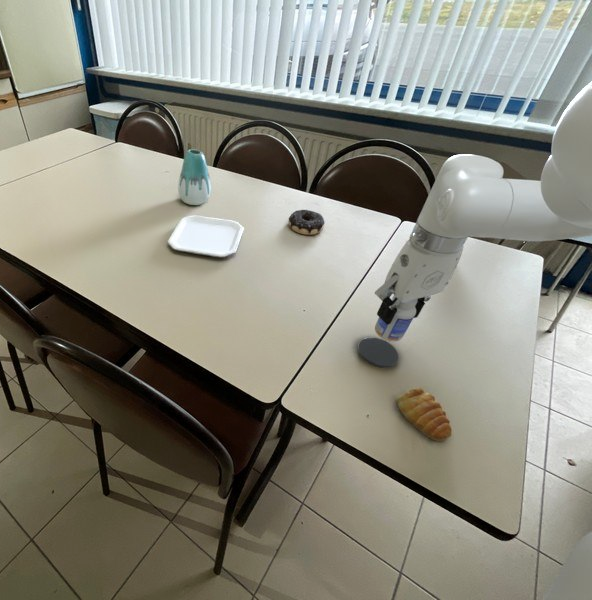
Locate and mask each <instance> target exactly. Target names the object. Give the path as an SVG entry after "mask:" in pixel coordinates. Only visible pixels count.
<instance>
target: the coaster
mask: <svg viewBox="0 0 592 600" xmlns="http://www.w3.org/2000/svg"><path fill="white" fill-rule="evenodd" d="M357 352H358V355H359V356H360V357H361V359H363V360H364V361H365V362H366V363H368V364H369V365H372V366H373V367H377V368H381V369H382V368H383V369H386V368H391V367H394V366H395V365H397V363H398V360H399V353H398V351H397V349H396V348H395V347H394V345H392V344H391V343H390V342H389V341H387V340H385V339H383V338H380V337H379V338H378V337H365V338H363V339H362V340H360V341H359V343H358V346H357Z"/></svg>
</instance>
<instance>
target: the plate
mask: <svg viewBox="0 0 592 600" xmlns="http://www.w3.org/2000/svg"><path fill="white" fill-rule="evenodd" d="M244 230H245V227H244V226H243V225H242V224H240V223H239V222H238V221H237V220H232V219H225V218H217V217H211V216H203V215H197V214H192V215H188V216H184V217H182V218H181V219H180V220H179V222H178V223H177V226H176V227H175V228H174V230H173V231H172V233H171V235H170V237H169V238H168V239H167V244H168V245H169V246H170V247H171V249H172V250H174V251H177V252H183V253H187V254H188V253H189V254H196V255H201V256H208V257H213V258H220V259H221V258H226V257H230V256H232V255H235V254H236V253H237V250H238V247H239V245H240V243H241V242H240V241H241V238H242V236H243V233H244Z"/></svg>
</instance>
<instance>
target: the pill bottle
mask: <svg viewBox="0 0 592 600" xmlns="http://www.w3.org/2000/svg"><path fill="white" fill-rule="evenodd" d="M395 298H396V297H395V295H394V294H393V296H392V297H390V299H391V300H392V301H393V300H394V299H395ZM417 301H418V299H413V300H408V301H401V302H400V303H399V304H398V305H397V307H396V308H397V312H396V314H395V316H394V318H393V320H392V321H391V323H390V324H388V325H387V324H386V323H385V322H384V321H383V320H382V319H381V318H380V317H379V316H378V318H377V321H376V322H375V326H374V332H375V333H376V335H377V336H378V337H379V338H380V339H382V340H384V341H386V342H392V343H393V342H394V343H395V342H399V341H401V340H402V339H403V337H404V336H405V334H406V332H407V331H408V329H409V327H410V325H411V323H412V322H413V320H414V319H415V318H414V316H415V314H416V308H415V305H416V303H417Z"/></svg>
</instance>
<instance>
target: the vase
mask: <svg viewBox="0 0 592 600" xmlns="http://www.w3.org/2000/svg"><path fill="white" fill-rule="evenodd" d="M211 183H212V182H211V177H210V173H209V169H208V165H207V160H206V157H205V155H204V152H202V151H201V150H199V149H196V148H191V149H190V148H189V149H188V150H187V152H186V153H185V155H184V157H183V161H182V166H181V170H180V174H179V178H178V184H177V193H178V196H179V198H180V200H181V201H182V202H183V203H185V204H187V205H189V206H200V205H202V204H204V203H205V202H207V201H208V199H209V198H210V195H211V192H212V184H211Z"/></svg>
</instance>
